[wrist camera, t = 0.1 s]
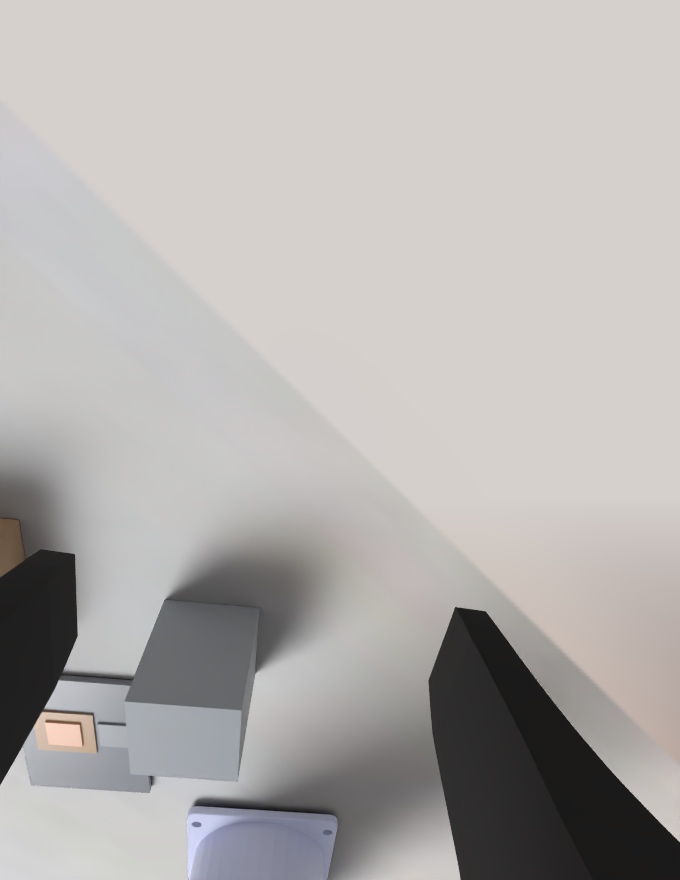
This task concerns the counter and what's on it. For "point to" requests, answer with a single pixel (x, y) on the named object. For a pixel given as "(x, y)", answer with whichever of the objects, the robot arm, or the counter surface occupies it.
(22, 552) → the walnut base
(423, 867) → the counter surface
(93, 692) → the tile
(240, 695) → the grey block
